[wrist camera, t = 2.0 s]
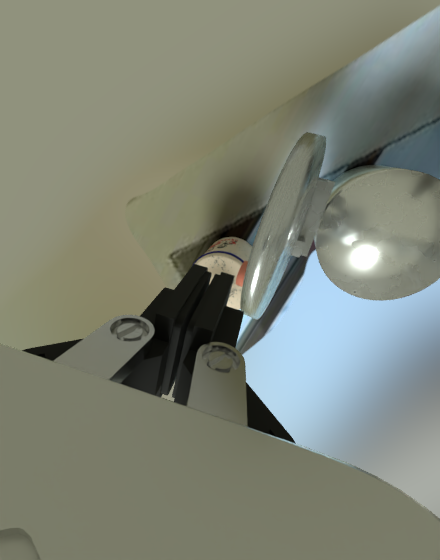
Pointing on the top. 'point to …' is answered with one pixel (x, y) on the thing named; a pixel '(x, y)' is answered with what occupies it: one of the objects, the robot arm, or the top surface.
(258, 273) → the lid
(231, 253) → the teacup with lid
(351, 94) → the top surface
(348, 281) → the cooker pot
